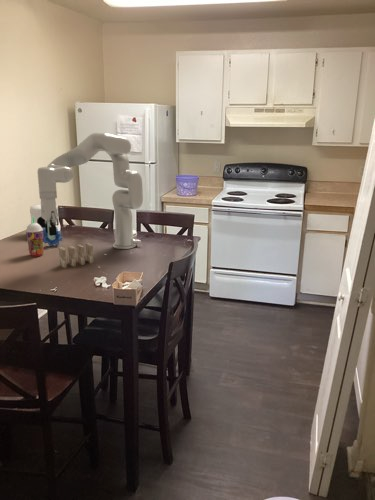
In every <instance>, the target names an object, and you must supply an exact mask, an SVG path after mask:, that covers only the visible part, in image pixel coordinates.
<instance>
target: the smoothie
mask: <svg viewBox="0 0 375 500" xmlns="http://www.w3.org/2000/svg"><path fill="white" fill-rule="evenodd" d="M25 234H26V241H27V245H28V251H29V255H30V256H31V257H32V258H38V257H41V256H43V254H44V242H43V239H44V238H43V229H42V227H41V226H40V225H39V224H38V223H34V217H33V223H31V222H30V223H29V224H28V225H27V226H26V229H25Z"/></svg>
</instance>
